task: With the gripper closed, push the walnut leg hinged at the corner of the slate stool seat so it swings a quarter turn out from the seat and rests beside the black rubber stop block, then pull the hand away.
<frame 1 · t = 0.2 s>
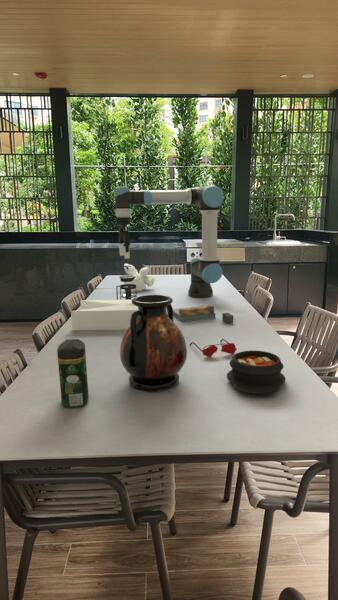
hand: (124, 256, 238), 28 cm above the table, tool pointing down, fingers open, 13 cm apart
french press: (127, 307, 245), on the table
hinged leg: (197, 310, 217), point 4 cm above the table, hinge at 0.0°
building model: (123, 324, 214), on the table
glasses: (212, 350, 174), on the table
amphora vase: (154, 382, 144), on the table
stop block: (227, 322, 211), on the table
stool seat: (192, 315, 224), on the table
white lobed sculpture: (139, 289, 292), on the table
casserole: (255, 383, 143), on the table
coffee jar: (75, 402, 132), on the table
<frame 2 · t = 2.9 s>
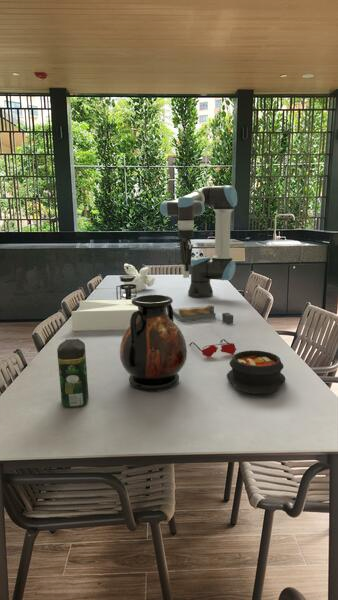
hand: (186, 277, 219), 20 cm above the table, tool pointing down, fingers closed
nothing on the table moved.
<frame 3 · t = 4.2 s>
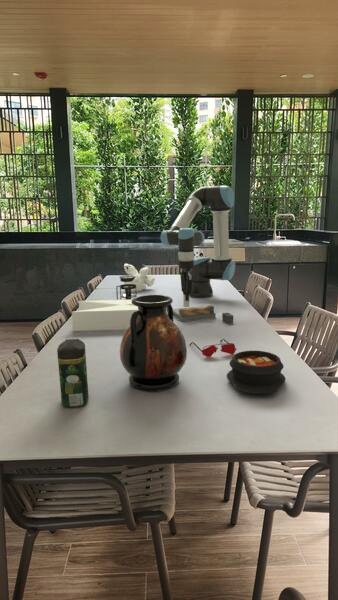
hand: (186, 306, 223), 5 cm above the table, tool pointing down, fingers closed
nothing on the table moved.
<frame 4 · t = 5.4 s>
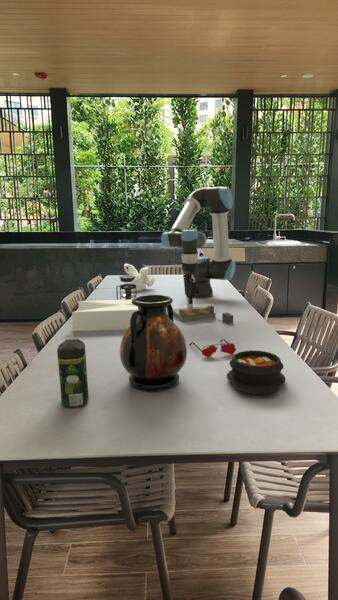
hand: (189, 309, 218), 4 cm above the table, tool pointing down, fingers closed
hinged leg: (197, 310, 217), point 4 cm above the table, hinge at 0.0°, touching gripper
everything else where it was.
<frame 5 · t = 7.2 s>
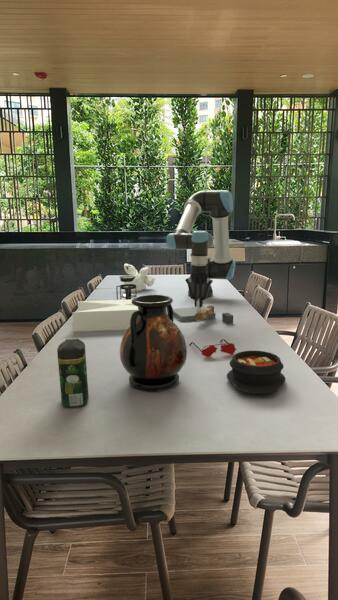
hand: (198, 313, 211), 4 cm above the table, tool pointing down, fingers closed
hinged leg: (205, 312, 212), point 4 cm above the table, hinge at 46.9°, touching gripper
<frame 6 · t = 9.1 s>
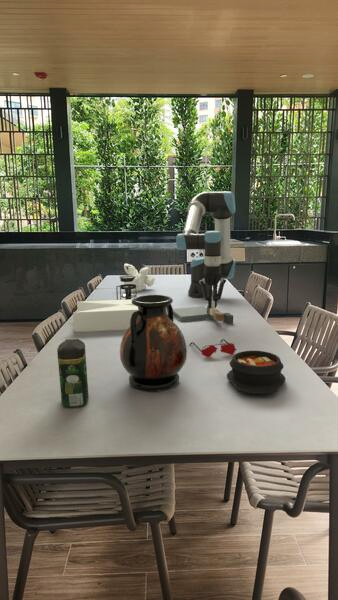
hand: (212, 314, 208), 4 cm above the table, tool pointing down, fingers closed
hinged leg: (215, 313, 212), point 4 cm above the table, hinge at 85.1°
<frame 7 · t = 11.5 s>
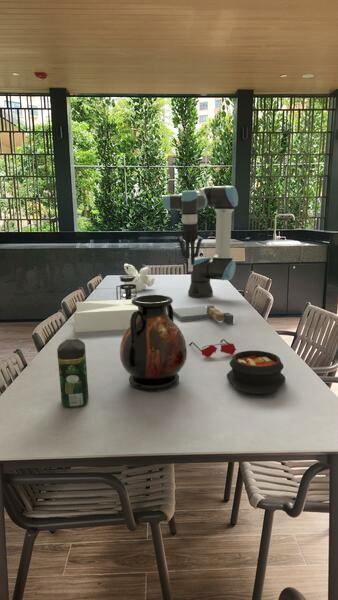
hand: (190, 271, 220), 23 cm above the table, tool pointing down, fingers closed
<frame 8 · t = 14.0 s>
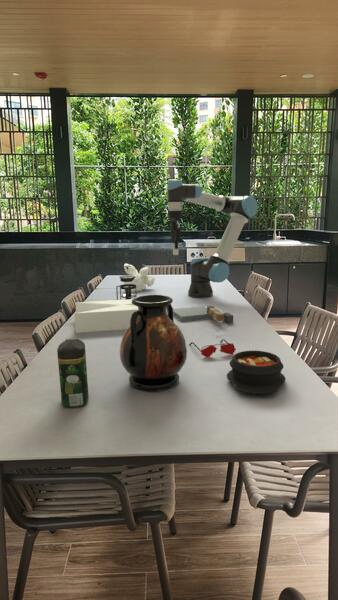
hand: (175, 254, 239), 28 cm above the table, tool pointing down, fingers closed
at the end: hinged leg at +85° (first picture: +0°); the gripper is holding nothing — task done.
